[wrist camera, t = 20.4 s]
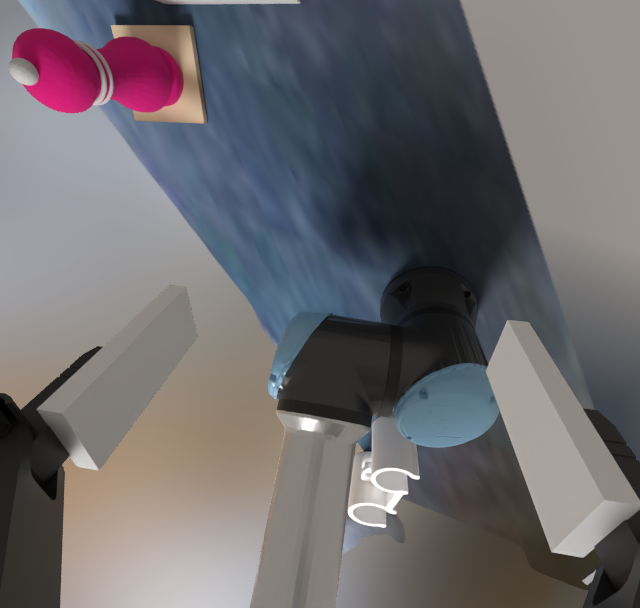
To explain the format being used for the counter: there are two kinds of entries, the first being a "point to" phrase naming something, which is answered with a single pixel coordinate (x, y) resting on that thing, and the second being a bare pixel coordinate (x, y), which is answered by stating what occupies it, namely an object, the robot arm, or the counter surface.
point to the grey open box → (229, 1)
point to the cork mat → (185, 54)
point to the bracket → (381, 474)
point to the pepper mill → (94, 72)
